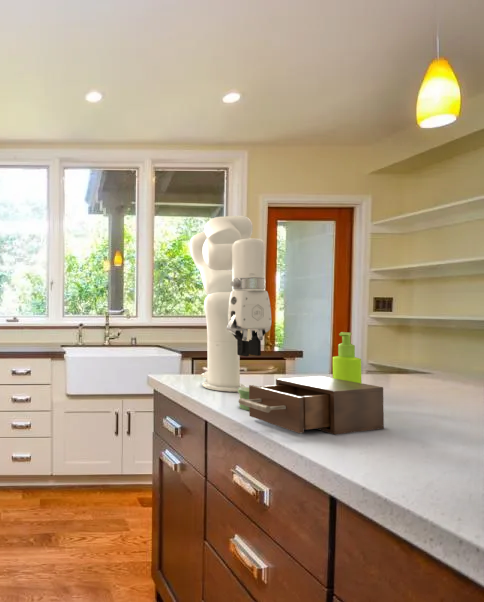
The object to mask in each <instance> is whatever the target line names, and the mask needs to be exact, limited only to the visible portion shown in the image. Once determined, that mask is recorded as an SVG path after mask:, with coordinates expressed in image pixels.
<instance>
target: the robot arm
mask: <svg viewBox="0 0 484 602" xmlns="http://www.w3.org/2000/svg"><path fill="white" fill-rule="evenodd" d="M253 230H254V225H253V221H252V220H251V219H250V218H249V217H248V216H246V215H227V216H216V217H213V218H211V219H209V220H208V221H206V223H205V224H204V231H202V232H198V233H196V234H194V235H193V236H192V237H191V238H190V240H189V253H190V256H191V259H192V262H193V263H194V265H195V266H196V268H197V269H198V271H199V274H200V277H201V281H202V285H203V289H204V292H205V294H206V295H207V296H206V297H205V298H204V302H203V308H204V316H205V321H206V343H207V344H206V349H207V350H206V351H207V353H206V354H207V357H206V358H207V359H206V361H207V362H206V363H207V366H206V367H207V370H206V371H204V372H202V373H201V374H200V376H201V377H202V378H205V381H203V382H202V387H203V388H205V389H208V390H212V391H218V392H230V393H234V392H237V393H238V388H241V387H246V385H245V384H242V383H241V370H240V369H241V368H240V367H241V363H240V362H241V361H240V359H241V358H240V357H241V356H242V357H249V356H257V357H260V356H261V355H262V341H263V339H264V336H265V335H266V333H268V332H269V331H270V330H271V327H272V307H271V301H270V295H269V293H268V291H267V290H266V245H265V241H264V240H263V239H262V238H253V237H252V235H253ZM248 330H249V334H250V339H248Z"/></svg>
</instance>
